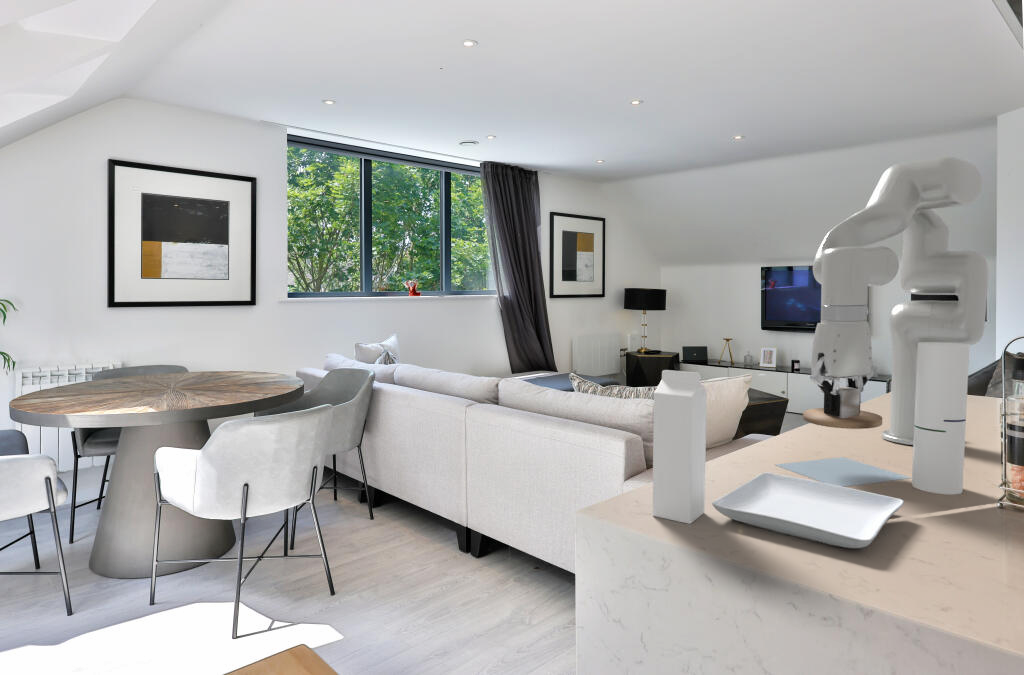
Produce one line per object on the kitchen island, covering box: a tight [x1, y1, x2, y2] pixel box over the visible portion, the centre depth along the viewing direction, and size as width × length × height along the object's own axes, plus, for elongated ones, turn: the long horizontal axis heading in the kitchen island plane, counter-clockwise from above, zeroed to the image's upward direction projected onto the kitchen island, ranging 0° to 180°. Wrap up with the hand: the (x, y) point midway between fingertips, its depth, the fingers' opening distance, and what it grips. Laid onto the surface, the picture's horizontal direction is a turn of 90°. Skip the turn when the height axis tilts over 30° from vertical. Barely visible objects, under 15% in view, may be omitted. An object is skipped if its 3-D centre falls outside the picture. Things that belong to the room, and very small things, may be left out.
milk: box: [652, 369, 708, 525], centre depth 95 cm, size 6×6×22 cm
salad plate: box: [712, 471, 904, 549], centre depth 93 cm, size 21×21×3 cm
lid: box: [802, 385, 883, 430], centre depth 116 cm, size 13×13×6 cm
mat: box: [774, 456, 912, 487], centre depth 117 cm, size 17×15×1 cm
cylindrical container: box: [911, 342, 970, 495], centre depth 106 cm, size 7×7×25 cm
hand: (841, 412), depth 116 cm, fingers closed on lid, 4 cm apart
